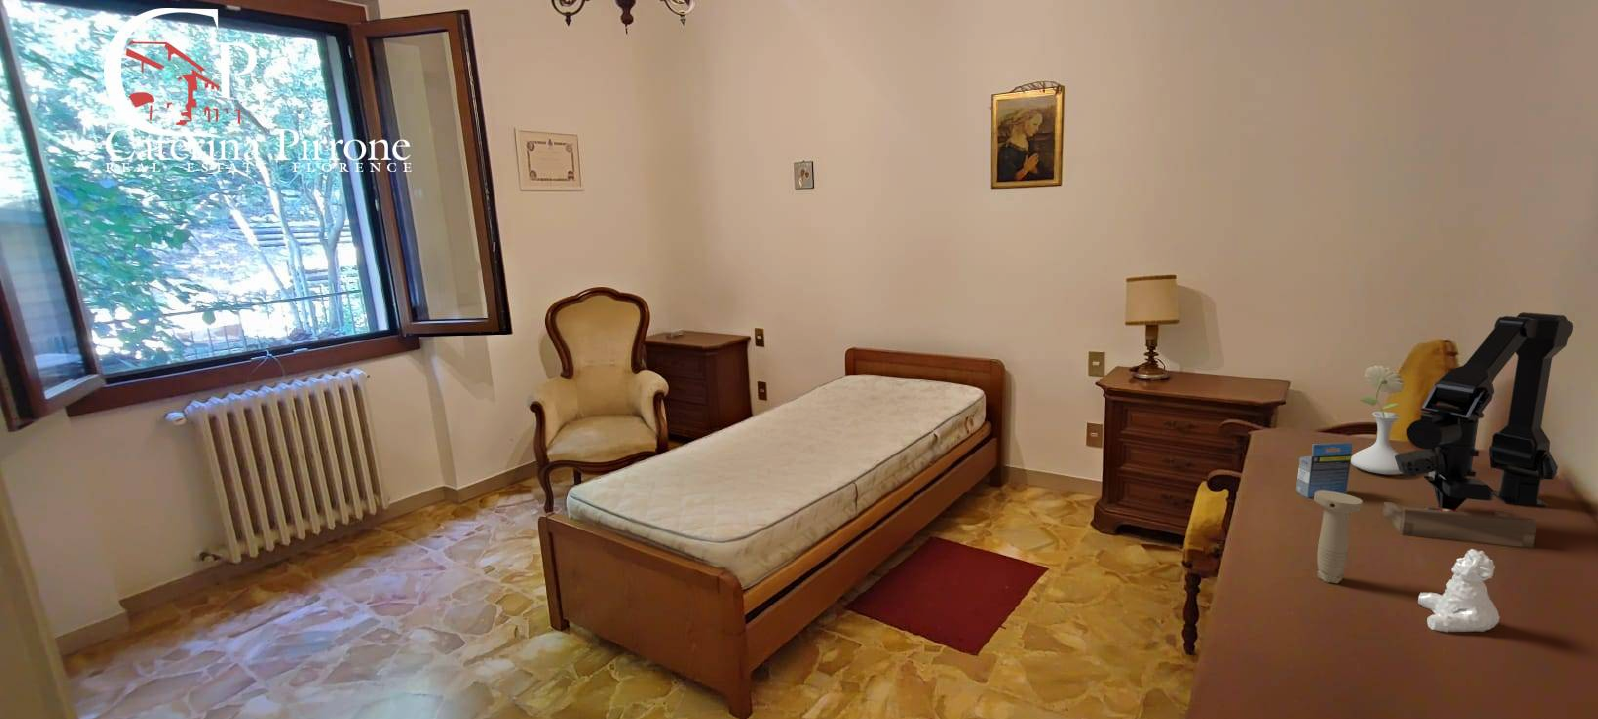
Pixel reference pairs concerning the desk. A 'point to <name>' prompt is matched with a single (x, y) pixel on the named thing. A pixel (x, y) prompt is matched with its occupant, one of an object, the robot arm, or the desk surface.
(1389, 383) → the flower in vase
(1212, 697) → the desk surface
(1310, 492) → the label tape box
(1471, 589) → the seated beast figurine
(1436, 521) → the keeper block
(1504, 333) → the robot arm
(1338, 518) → the handle
